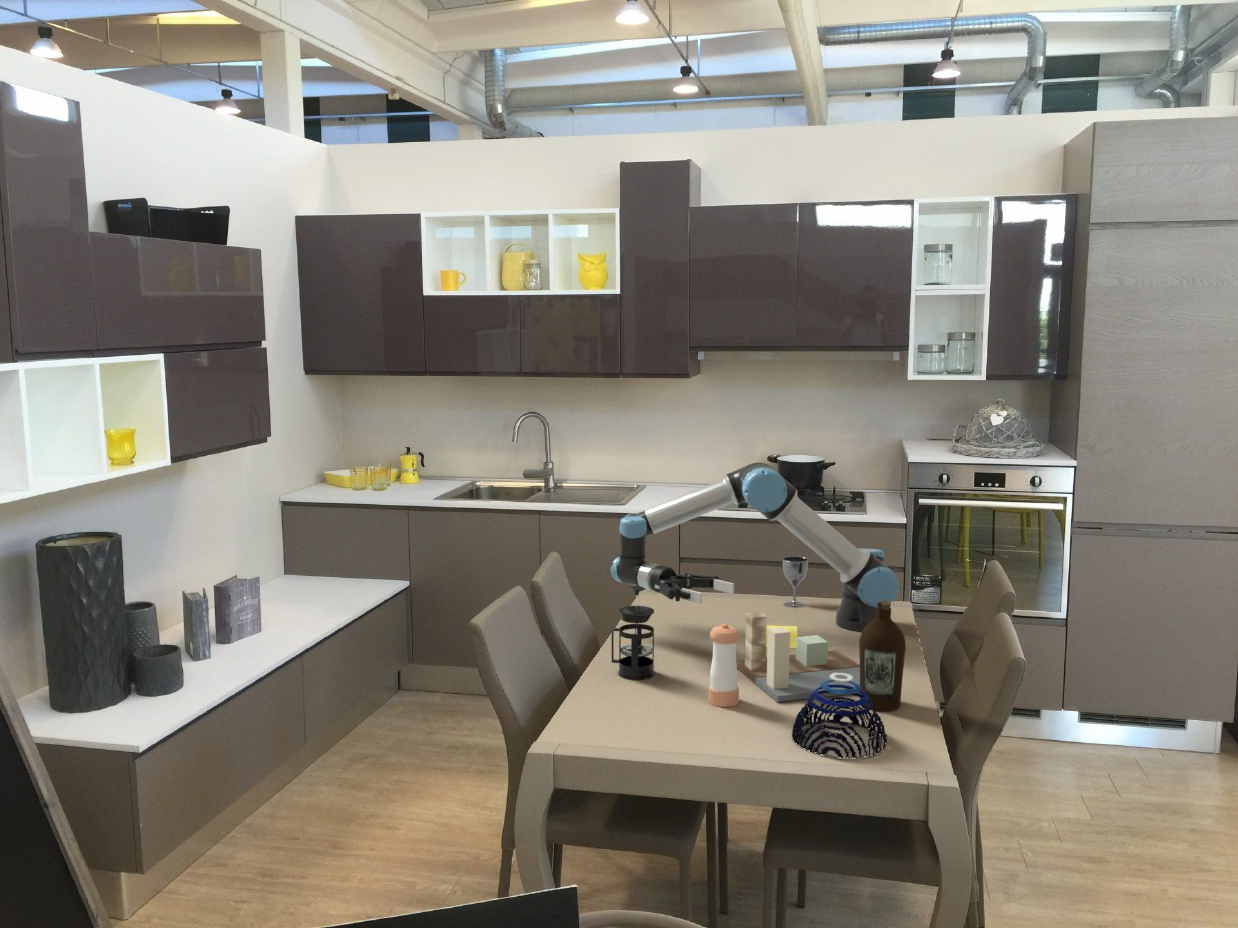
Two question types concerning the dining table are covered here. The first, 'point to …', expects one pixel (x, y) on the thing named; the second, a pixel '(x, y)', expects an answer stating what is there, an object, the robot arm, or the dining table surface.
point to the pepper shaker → (724, 667)
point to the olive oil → (882, 660)
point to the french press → (635, 642)
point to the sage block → (811, 650)
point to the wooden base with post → (757, 658)
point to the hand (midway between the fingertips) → (717, 593)
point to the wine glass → (795, 575)
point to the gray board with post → (796, 684)
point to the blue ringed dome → (838, 719)
